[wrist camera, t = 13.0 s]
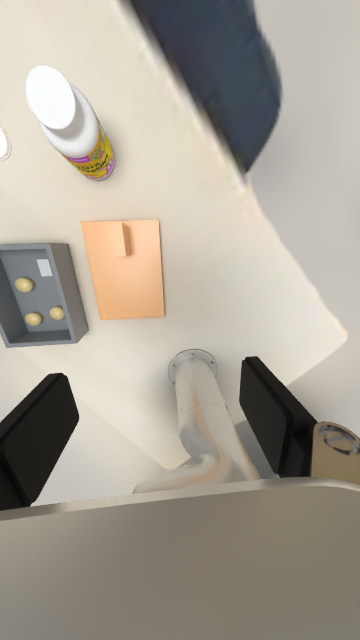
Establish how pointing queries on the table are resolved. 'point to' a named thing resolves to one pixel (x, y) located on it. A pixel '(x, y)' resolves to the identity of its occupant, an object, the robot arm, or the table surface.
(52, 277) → the tub
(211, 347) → the table surface
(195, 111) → the table surface
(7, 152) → the chess piece
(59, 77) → the supplement bottle
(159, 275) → the lid
